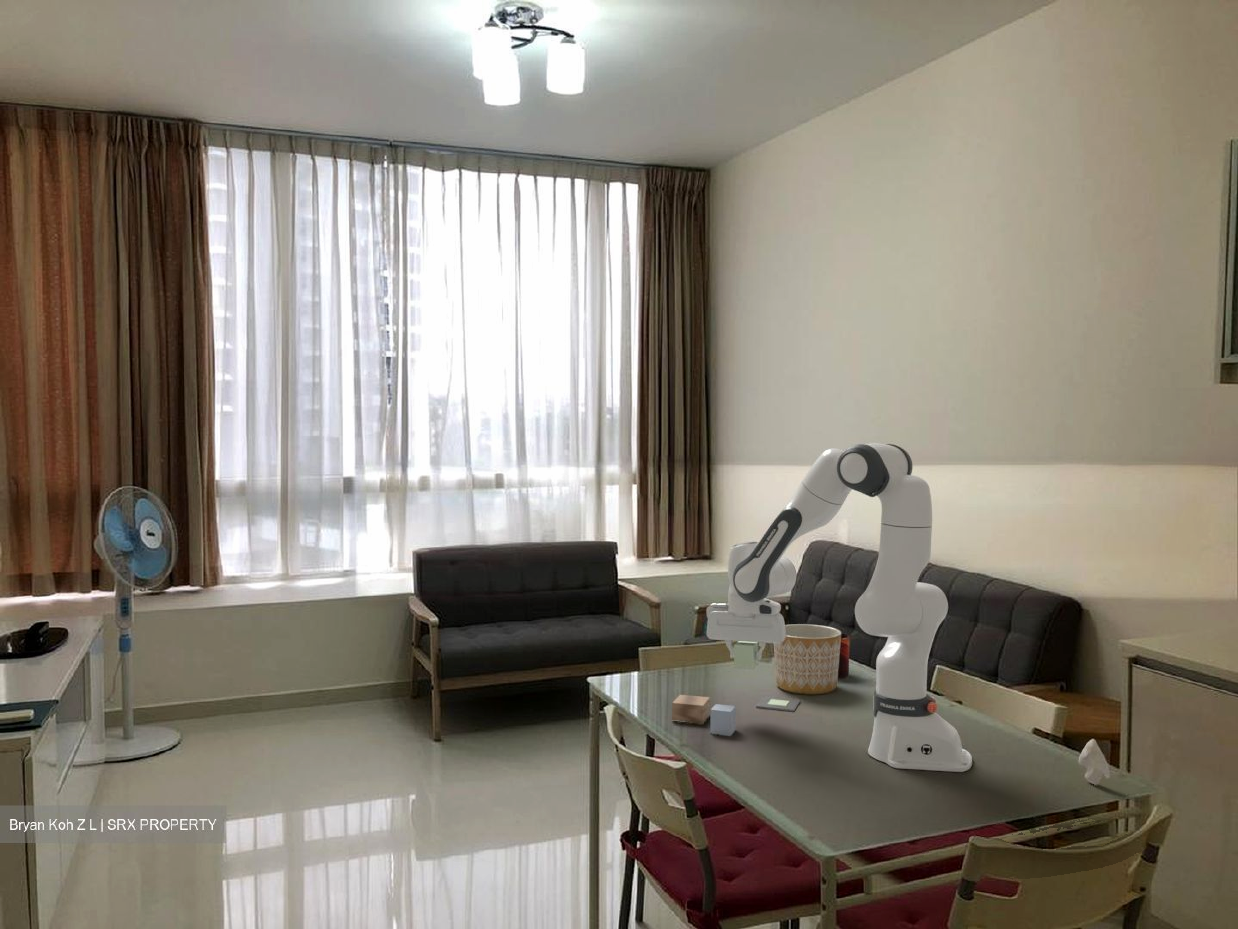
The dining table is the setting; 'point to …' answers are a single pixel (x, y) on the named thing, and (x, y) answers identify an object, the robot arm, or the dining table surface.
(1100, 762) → the arrowhead
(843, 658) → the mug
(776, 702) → the card
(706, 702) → the walnut base
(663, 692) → the dining table surface
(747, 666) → the sage block
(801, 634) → the planter
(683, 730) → the dining table surface
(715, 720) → the slate block
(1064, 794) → the dining table surface
